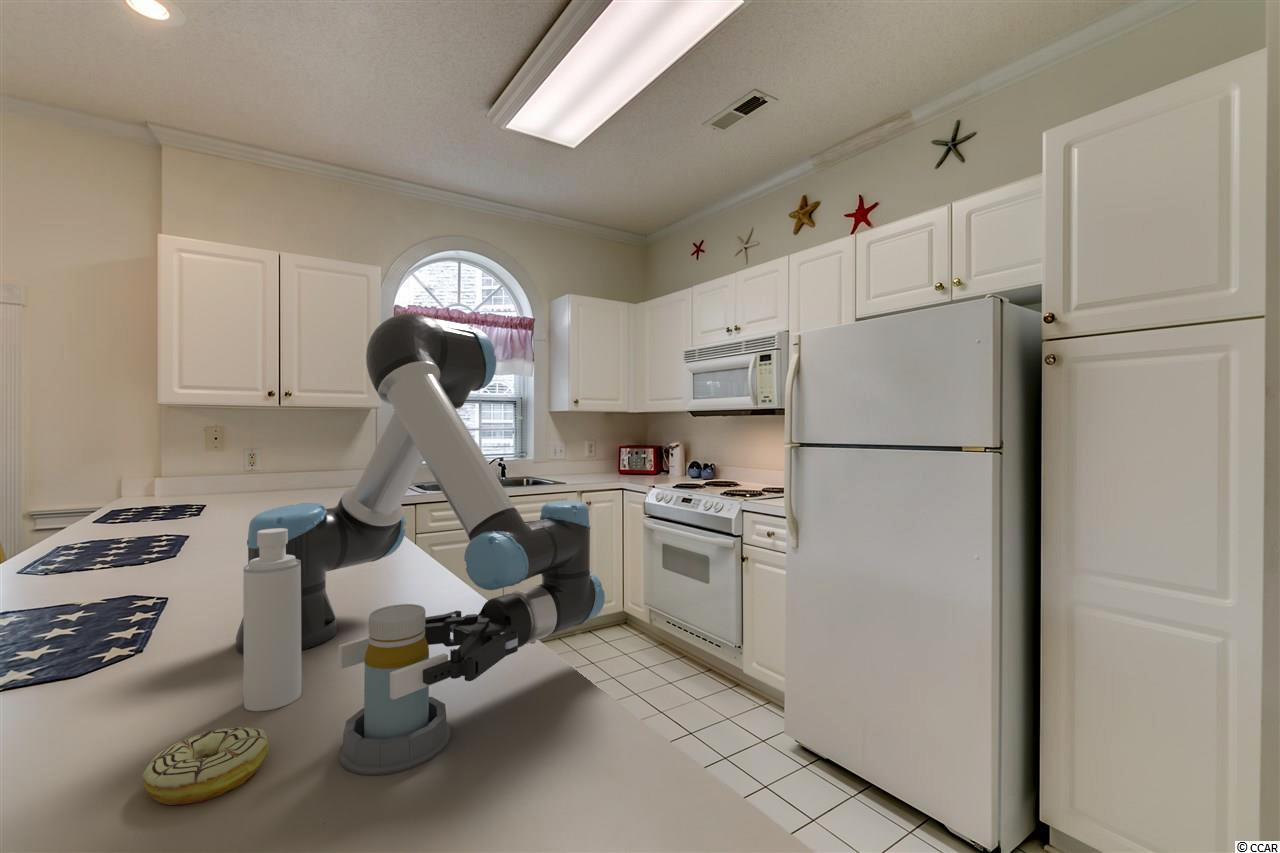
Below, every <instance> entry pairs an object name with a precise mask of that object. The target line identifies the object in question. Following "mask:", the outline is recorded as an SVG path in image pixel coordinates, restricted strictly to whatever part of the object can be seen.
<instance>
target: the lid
mask: <svg viewBox="0 0 1280 853" xmlns="http://www.w3.org/2000/svg"><path fill="white" fill-rule="evenodd" d="M446 709H447V708H446V703H444V702H443V701H441V700H439V699H437V698H435V697H433V696H429V724H428V725H427V726H426V727H424V728H422V729H420V730H417V731H415V732H413V733H411V734H409V735H406V736H400V737H395V738H389V739H384V740H382V739H370V738H364V707H363V708H361V709H360V710H358V711H357V712H356V713H355V714H353V715H352V716H351V717H350V718H348V719H347V720H346V721H345V724H344V729H343V732H342V739H343V740H342V744H341V746H340V749H339V763H340V764H341V766H342V767H343V768H344V769H345V770H347V771H349V772H350V773H353V774H357V775H362V776H382V775H383V776H384V775H391V774H392V775H393V774H396V773H400V772H404V771H407V770H410V769H413V768H416V767H418V766H421V765H423V764H425V763H427V762H428V761H430V760H431V759H434V758H435V757H436V756H438V755H439V754H440V753H441V752H442V751H443V750H444V749H445V748H446V747H447V745H448V744H449V742H450V738H451V729H450V728H451V727H450V725H449V723H448V722H447V710H446Z"/></svg>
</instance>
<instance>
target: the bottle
mask: <svg viewBox="0 0 1280 853" xmlns="http://www.w3.org/2000/svg"><path fill="white" fill-rule="evenodd" d="M425 617H426V608H425V607H424V606H422V605H419V604H414V603H413V604H412V603H404V604H403V603H402V604H392V605H386V606H384V607H381V608H380V607H379V608H378V609H375V610H373V611H372V612H371V613H370V614H369V617H368V634H369V635H368V636H369V645H368V648H367V651H366V654H365V662H364V683H363V684H364V690H363V691H364V695H363V696H364V703H363V704H364V706H363V708H364V738H370V739H382V740H384V739H389V738H395V737H400V736H406V735H409V734H411V733H413V732H415V731H417V730H420V729H422V728H424V727H426V726H427V725H428V724H429V697H430V694H429V693H430V688H429V687H430V686H427V687H425V688H422V689H420V690H417V691H415V692H412V693H410V694H407V695H404V696H402V697H399V698H397V699H394V700H393V699H391V698H390V672H393V671H395V670H398V669H401V668H404V667H407V666H410V665H412V664H415V663H418V662H421V661H424V660H427V659H430V649H429V645H428V643H427V641H426V638H425Z"/></svg>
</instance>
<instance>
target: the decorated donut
mask: <svg viewBox="0 0 1280 853" xmlns="http://www.w3.org/2000/svg"><path fill="white" fill-rule="evenodd" d="M269 745H270V744H269V742H268V737H267V735H266V733H265V730H264V729H260V728H256V727H255V728H253V727H250V726H249V727H248V726H237V727H236V726H235V727H234V726H233V727H224V728H217V729H212V730H208V731H206V732H203V733H200V734H197V735H193V736H189V737H187V738H185V739H182V740H181V741H178V742H176V743H174V744H172V745H170V746H168V747H166V748H164V749H162V750H161V751H160V752H158V753H157V754H156V755H155V756H154V757H153V759H152V760H151V761H150V762H149V764H148V765H147V767H146V768H145V770H144V772H143V773H142V777H143V778H142V779H143V784H144V787H145V790H146V792H147V793H148V795H149V796H151V798H152V799H154V801H156V802H158V803H161V804H163V805H169V806H170V805H171V806H175V805H185V804H190V803H191V804H194V803H200V802H203V801H206V800H210V799H214V798H217V797H219V796H222V795H224V794H226V792H228V791H231V790H234V789H236V788H237V787H240V786H241V785H242V784H244V783H246V781H247V780H248V779H250V778H251V777H252V776H253V775H254V774H255V773H256V772H257V771H258V770H259V769H260V767H261V766H262V764H263V762H264V759H265V757H266V754H267V753H268V750H269ZM199 801H200V802H199Z"/></svg>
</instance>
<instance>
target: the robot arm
mask: <svg viewBox="0 0 1280 853" xmlns="http://www.w3.org/2000/svg"><path fill="white" fill-rule="evenodd" d="M495 352H496V351H495V347H494V344H493V342H492V341H491V339H490V338H489V336H488V334H486V333H485V332H484V331H483V330H481V329H479V328H478V327H474V326H471V325H468V324H467V323H463V322H453V321H449V320H444V319H443V320H442V319H440V318H435V317H430V316H425V315H422V314H417V313H400V314H398V315H395V316H392V317H389V318H388V319H386V320H385V321H382V323H380V324H379V325H378V326H377V327H376V329H375V330H374V331H373V333H372V334H371V336H370V337H369V341H368V343H367V346H366V354H365V360H366V361H365V362H366V369H367V372H368V376H369V379H370V381H371V384H372V385H373V387H374V389H375V391H376V393H377V394H378V397H379V398H380V400H381V401H382V402H384V403H385V404H388V405H392V407H393V409H394V412H393V414H392V415H391V417H390V419H389V421H388V423H387V425H386V427H385V429H384V432H383V433H382V435H381V436H380V439H379V441H378V443H377V445H376V446H375V447H376V448H375V449H374V451H373V453H372V455H371V457H370V459H369V461H368V463H367V465H366V467H365V469H364V470H363V473H362V475H361V476H360V478H359V481H358V482H357V485H353V486H351V487H348V488H347V489H346V490H345V491H344V492H343V494H342V496H341V497H340V499H339V501H338V503H337V505H336V506H334V507H331V508H326V506H325V505H324V504H323V503H319V502H302V503H298V504H290V505H289V504H287V505H282V506H278V507H274V508H271V509H268V510H265V511H262V512H260V513H258V514H256V515H255V516H254V517H252V519H251V520H250V522H249V526H248V532H247V533H248V535H247V540H246V546H247V554H248V555H247V556H248V557H247V561H248V562H247V565H248V564H249V562H250V560H252V559H255V558H259V547H258V546H257V532H258V531H260V530H266V529H275V528H285V529H288V543H287V544H286V555H294V556H295V557H296V559H299V560H301V651H302V650H306V649H310V648H312V647H316V646H318V645H320V644H323V643H325V642H327V641H329V640H331V639H333V638H334V636H336V635H337V632H338V627H337V626H338V624H337V623H338V622H337V621H338V620H337V617H336V614H335V611H334V609H333V606H332V604H331V601H330V599H329V596H328V593H327V590H326V588H327V586H326V584H327V583H326V579H327V578H326V577H327V576H326V574H327V572H332V571H334V570H339V569H345V568H349V567H352V566H357V565H363V564H367V563H372V562H376V561H378V560H381V559H383V558H386V557H389V556H390V555H392V554H394V552H396V551H397V550H398V549H399V548H400V546H401V544H402V542H403V540H404V538H405V534H406V528H404V526H406V518H405V515H404V508H403V506H402V501H403V499H404V498H405V495H406V493H407V492H408V490H409V488H410V486H412V485H411V484H412V483H413V481H414V479H415V477H416V476H417V474H418V471H419V469H421V468H420V467H421V466H422V464H423V462H425V464H426V466H427V467H428V469H429V471H430V472H431V474H432V476H433V478H434V479H435V481H436V484H437V485H438V487H439V488H440V490H441V492H442V494H443V496H444V497H445V499H446V501H447V502H448V504H449V506H450V508H451V510H452V511H453V513H454V514H455V516H456V518H457V520H458V522H459V523H460V525H461V527H462V528H463V530H464V532H465V533H466V535H467V537H468V540H469V543H468V544H467V546H466V548H465V552H464V556H463V557H464V562H465V565H466V568H465V571H466V574H467V576H468V577H469V580H470V581H471V582H472V583H473V584H474V585H476V586H477V587H479V588H480V589H482V590H486V591H496V590H499V589H503V588H506V587H508V588H509V587H513V586H515V585H518V584H520V583H522V582H523V581H527V580H528V579H530V578H533V577H535V576H538V575H541V584H537V585H533V586H530V587H525V588H522V589H519V590H516V591H515V590H514V591H513V592H511V593H506V594H503V595H499V596H497V597H493V598H489V599H488V600H487V601H485V603H484V604H483V606H482V608H481V610H480V611H479V613H478V614H477V613H474V614H473V613H469V614H466V615H464V616H462V611H461V610H454V611H451V612H448V613H444V614H439V615H437V614H436V615H431V616H425V638H426V641H427V643H428V646H430V645H433V646H434V645H444V646H445V647H448V648H449V647H450V652H449V653H450V655H449V656H450V657H449V656H448V654H447V653H442V654H437V655H435V656H433V657H429V659H427V660H424V661H421V662H418V663H415V664H412V665H410V666H407V667H404V668H401V669H398V670H395V671H393V672H390V698H391V699H393V700H394V699H397V698H399V697H402V696H404V695H407V694H410V693H412V692H415V691H417V690H420V689H422V688H425V687H427V686H429V687H430V686H432V685H435V684H437V683H440V682H442V681H445V680H447V679H449V678H451V679H460V678H461V677H464V682H465V681H466V682H471V681H472V682H473V681H474V680H476V679H477V678H479V677H480V676H481V675H482V674H484V673H485V672H486V671H488V670H489V669H490V668H492V667H493V666H494V665H496V664H497V663H499V662H500V661H502V660H503V659H504V658H505V657H506V656H509V655H512V654H515V653H517V652H518V650H519V648H522V647H524V646H525V645H528V644H530V645H533V644H535V643H536V641H539V640H540V639H543V638H546V637H549V636H551V635H554V634H556V633H560V632H562V631H564V630H565V631H566V630H568V629H570V628H573V627H577V626H581V625H582V624H585V623H586V622H588V621H590V620H592V619H594V618H595V617H597V616H598V615H599V614H601V611H602V610H603V608H604V605H605V601H606V594H605V590H604V589H603V587H602V582H601V580H600V579H599V577H598V576H596V575H595V574H594V573H592V572H591V571H590V569H591V568H590V564H591V561H590V560H591V559H590V558H591V556H590V555H591V554H590V552H591V525H590V512H589V507H588V505H586V504H585V503H584V502H581V501H573V500H570V501H569V500H568V501H566V500H563V501H562V500H561V501H560V500H559V501H551V502H550V501H549V502H547V503H544V504H543V505H542V506H541V510H540V516H539V520H535V521H531V522H527V523H526V522H525V521H524V518H523V517H522V516H521V514H520V512H519V511H518V509H517V508H516V506H515V505H514V503H513V501H512V499H511V498H510V496H509V495H508V492H506V490H505V488H504V487H503V485H502V483H501V482H500V480H499V478H498V477H497V474H495V472H494V470H493V469H492V466H491V465H490V463H489V461H488V460H487V458H486V457H485V455H484V453H483V452H482V450H481V449H480V447H479V445H478V444H477V442H476V440H475V439H474V437H473V436H472V433H471V432H470V430H469V428H468V427H467V425H466V423H465V422H464V421H463V419H462V417H461V416H460V414H459V413H458V411H457V410H459V409H461V408H462V407H464V404H466V403H465V402H466V401H467V399H468V397H469V396H470V394H471V392H477V391H480V390H482V389H485V388H486V387H488V386H489V384H491V382H492V380H493V378H494V377H495V374H496V370H497V356H496V355H495ZM298 563H299V562H298ZM451 634H452V638H451ZM235 637H236V638H235V640H236V641H235V643H236V644H235V646H236V647H235V648H236V651H237V652H238V653H240V654H243V655H244V625H243V617H242V619H241V621H240V625H239V627H238V630H237V633H236V635H235ZM368 645H369V635H368V636H366V637H362V638H358V639H355V640H351V641H348V642H345V643H342V644H338V668H339V669H341V670H344V669H347V668H349V667H352V666H356V665H358V664H362V663H365V654H366V651H367V648H368ZM457 646H458V648H453V649H452V648H451V647H457ZM449 658H450V659H449Z"/></svg>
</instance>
